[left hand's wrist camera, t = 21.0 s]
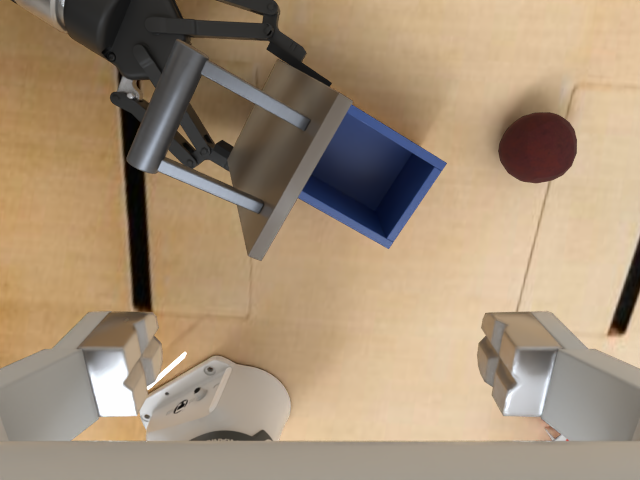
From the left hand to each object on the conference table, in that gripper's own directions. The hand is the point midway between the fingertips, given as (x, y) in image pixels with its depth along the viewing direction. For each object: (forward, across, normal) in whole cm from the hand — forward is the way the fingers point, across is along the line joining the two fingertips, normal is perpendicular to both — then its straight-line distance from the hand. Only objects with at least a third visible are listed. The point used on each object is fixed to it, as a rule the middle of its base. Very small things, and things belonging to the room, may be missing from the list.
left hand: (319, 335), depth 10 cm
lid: (+21, +3, -2) cm, 21 cm away
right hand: (+33, +2, -1) cm, 33 cm away
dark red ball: (+40, -24, +1) cm, 47 cm away
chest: (+40, -2, +2) cm, 40 cm away
